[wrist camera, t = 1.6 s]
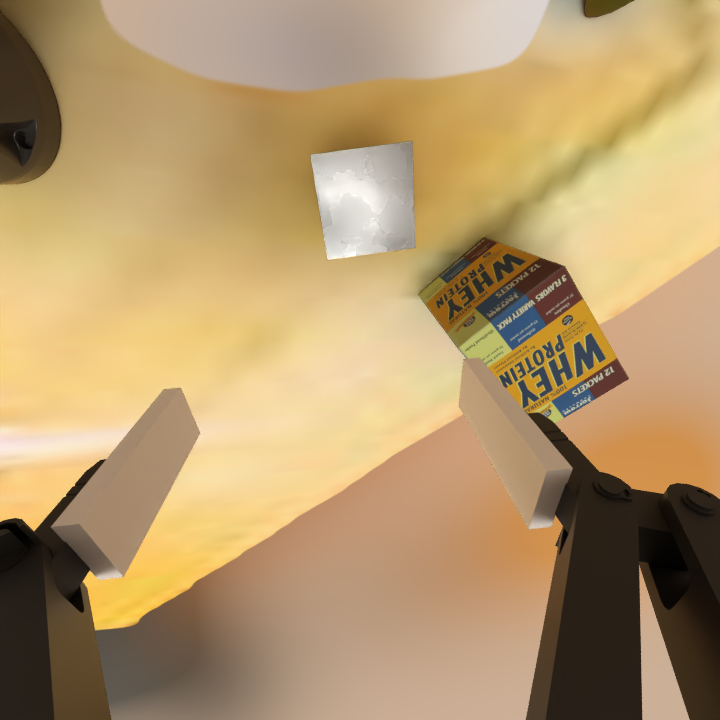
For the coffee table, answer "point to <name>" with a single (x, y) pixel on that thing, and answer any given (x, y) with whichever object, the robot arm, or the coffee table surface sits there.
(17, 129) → the robot arm
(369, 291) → the coffee table surface
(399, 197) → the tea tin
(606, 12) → the frog statue
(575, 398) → the protein box
